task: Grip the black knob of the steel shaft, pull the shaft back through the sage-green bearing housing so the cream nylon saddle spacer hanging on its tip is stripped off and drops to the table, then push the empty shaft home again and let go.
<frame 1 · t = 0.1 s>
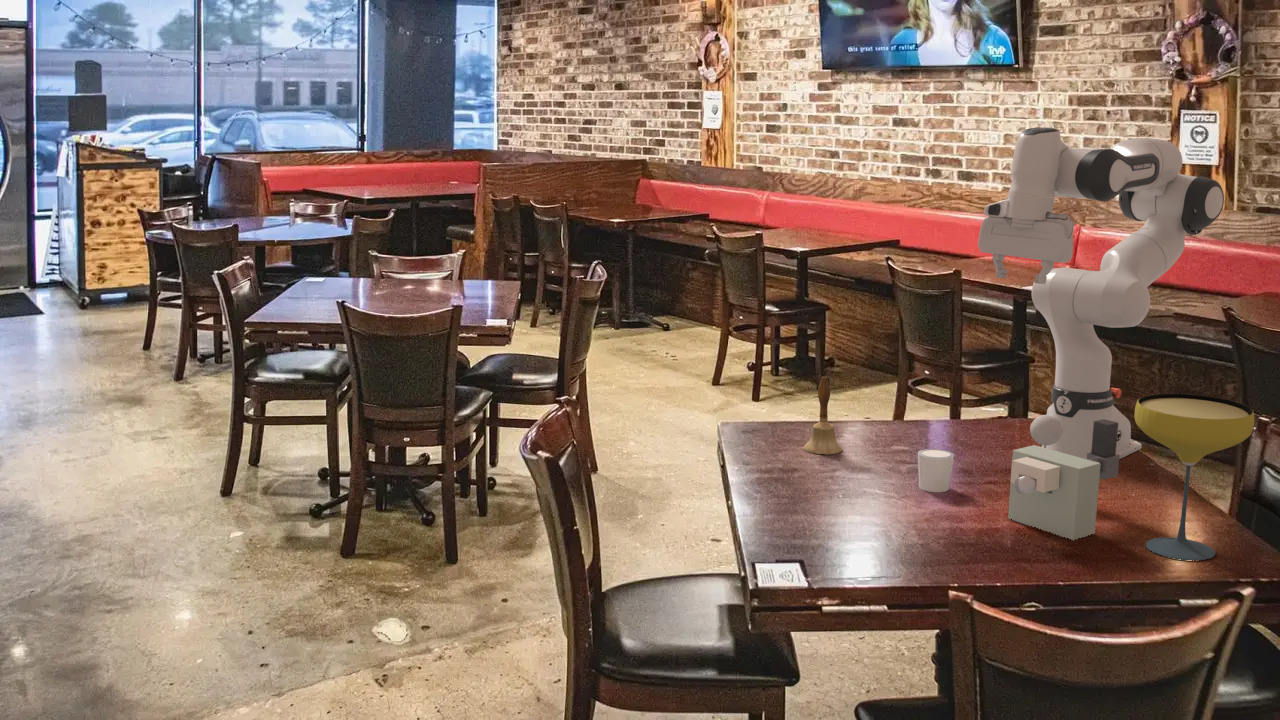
hand: (1019, 280, 251), 39 cm above the table, tool pointing down, fingers open, 8 cm apart
shot glass: (933, 488, 246), on the table
shaft: (1068, 457, 224), point 12 cm above the table, slide at 0.0 cm, touching spacer
cocktail glass: (1179, 551, 214), on the table
lollipop: (1041, 491, 245), on the table
spacer: (1034, 485, 220), point 8 cm above the table, touching shaft
hand bell: (822, 450, 272), on the table
bearing: (1050, 526, 225), on the table
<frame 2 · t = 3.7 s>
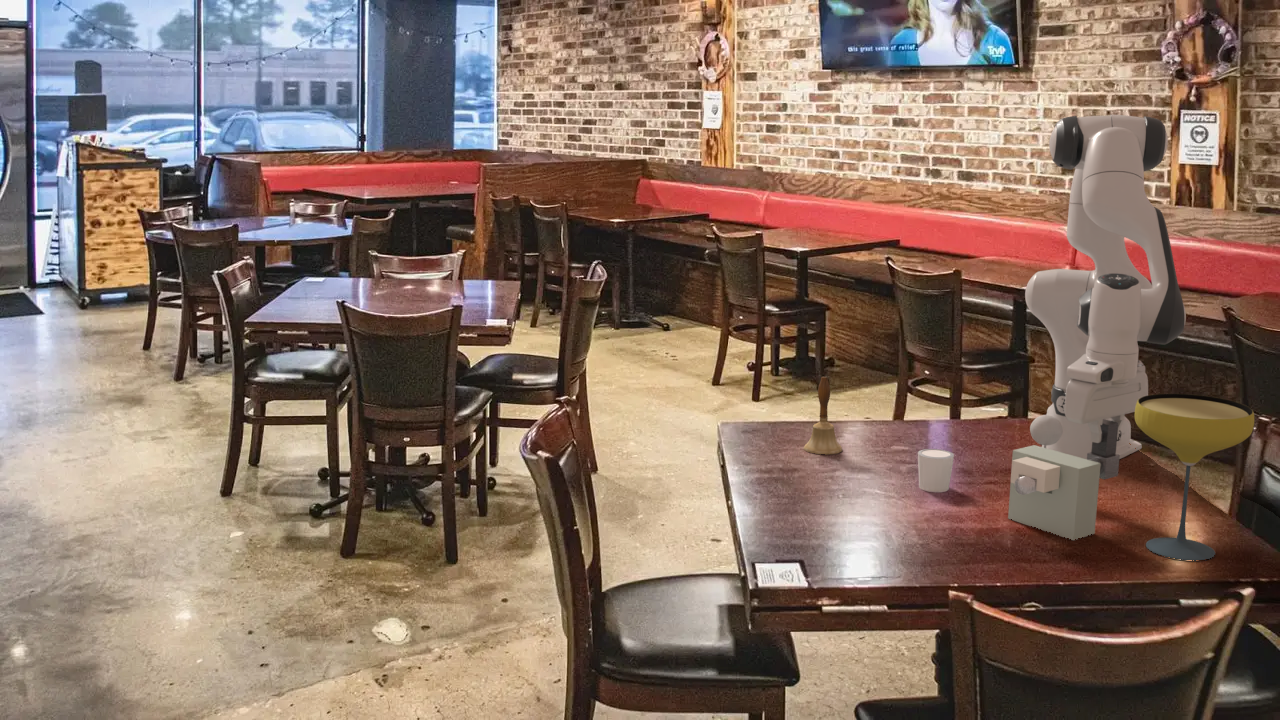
hand: (1104, 440, 230), 14 cm above the table, tool pointing down, fingers closed on shaft, 3 cm apart
shaft: (1068, 457, 224), point 12 cm above the table, slide at 0.0 cm, touching gripper, spacer
everything else where it was.
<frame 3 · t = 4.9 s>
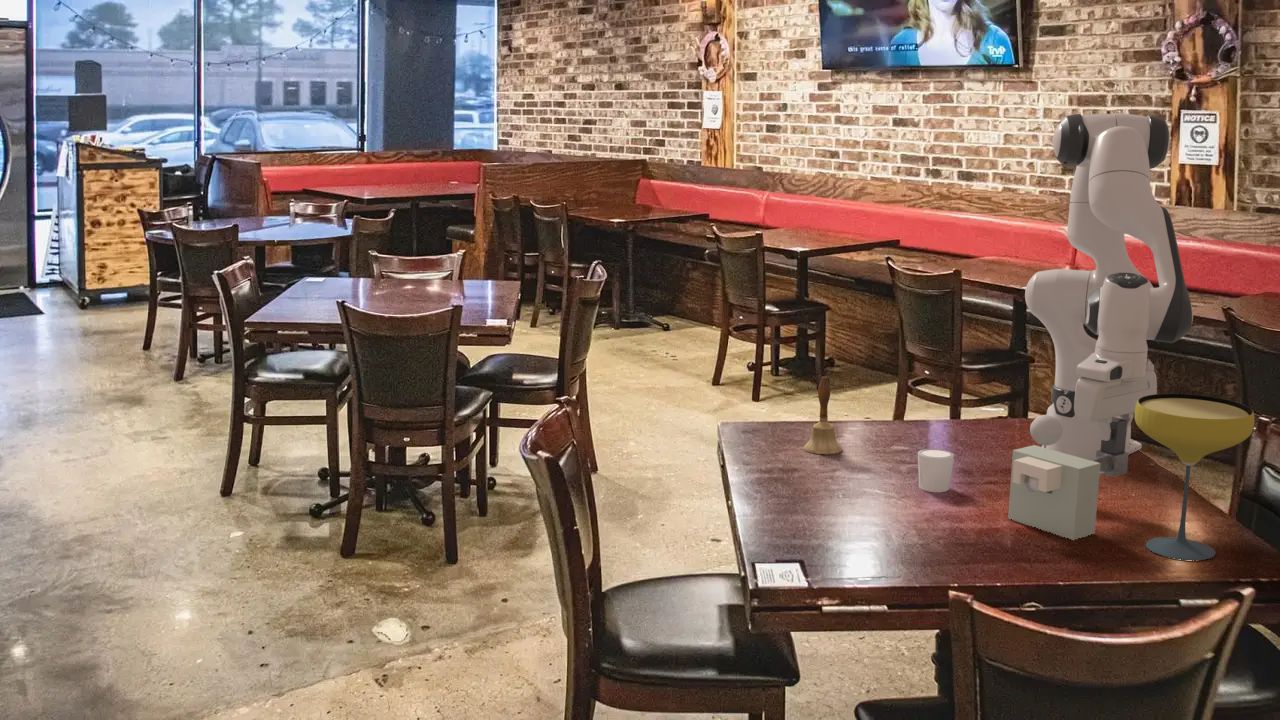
hand: (1113, 438, 232), 14 cm above the table, tool pointing down, fingers closed on shaft, 3 cm apart
shaft: (1077, 455, 226), point 12 cm above the table, slide at 2.8 cm, touching gripper, spacer
spacer: (1036, 485, 220), point 8 cm above the table, touching bearing, shaft
everything else where it was.
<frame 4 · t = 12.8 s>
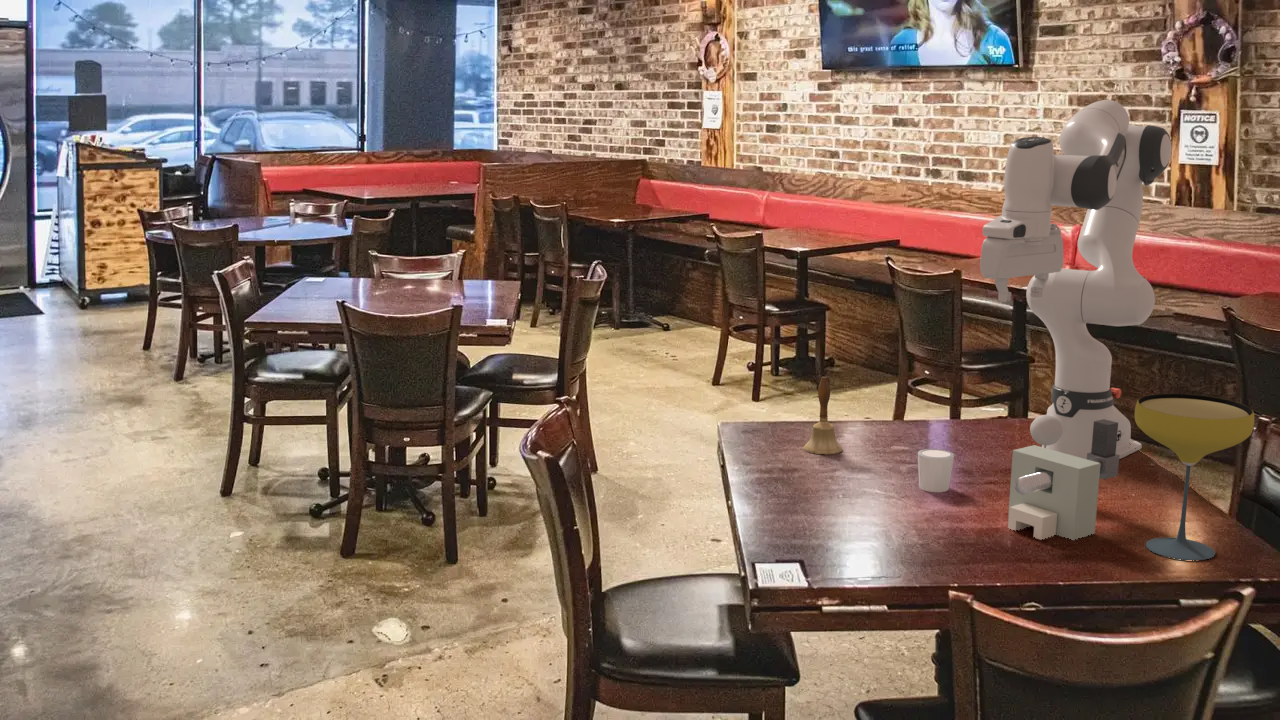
hand: (1020, 299, 239), 37 cm above the table, tool pointing down, fingers open, 8 cm apart
shaft: (1067, 457, 224), point 12 cm above the table, slide at 0.0 cm
spacer: (1031, 532, 222), on the table
everything else where it was.
at the end: spacer inside the target area (3.7 cm from its centre), on the table; shaft slide at 0.0 cm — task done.
